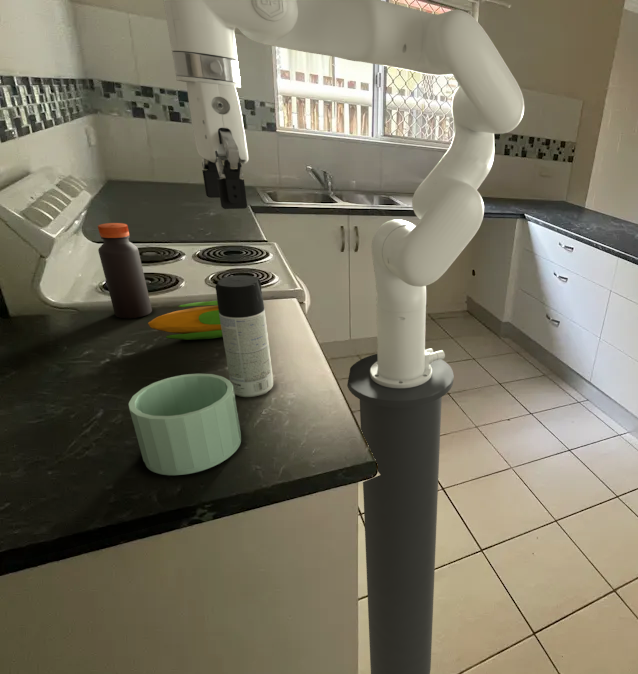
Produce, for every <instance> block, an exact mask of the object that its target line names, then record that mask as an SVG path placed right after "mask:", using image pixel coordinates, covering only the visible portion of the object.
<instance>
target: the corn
mask: <svg viewBox="0 0 638 674" xmlns="http://www.w3.org/2000/svg"><path fill="white" fill-rule="evenodd" d="M177 307H179V308H186V309H180V310H176V311H172V312H167V313H164V314H162V315H159V316H156V317H155V318H153V319H151V320H150V321H149V322H147V325H148V326H149V328H151V329H154V330H155V331H161V332H167V333H172V334H168V335H166V336H165V338H166V339H171V340H183V341H184V340H186V341H189V340H190V341H191V340H192V341H193V340H210V339H217V338H218V339H220V338H223V335H222V329H221V323H220V317H219V310H218V303H217V300H211V301H198V302H197V301H196V302H191V303H184V304H180V305H178V306H177ZM187 307H188V308H187ZM189 307H190V308H189Z"/></svg>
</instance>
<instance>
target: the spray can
mask: <svg viewBox="0 0 638 674" xmlns="http://www.w3.org/2000/svg"><path fill="white" fill-rule="evenodd" d="M214 287H215V294H216V301H217V303H218V310H219V317H220V323H221V329H222V335H223V337H222V339H223V346H224V351H225V359H226V364H227V372H228V378H229V380H230V382H231V383H232V385H233V389H234V395H235V396H237V397H240V398H251V397H257V396H263V395H265V394H267V393H268V392H269V391H270V390H272V388H273V387H274V375H273V367H272V359H271V350H270V344H269V343H270V341H269V334H268V326H267V325H268V324H267V317H266V309H265V302H264V297H263V291H262V284H261V279H260V278H259V277H256V276H252V275H247V274H246V275H244V274H242V275H241V274H240V275H237V274H236V275H229V276H223V277H221V279H218V281H217V283H216V284H215V286H214Z"/></svg>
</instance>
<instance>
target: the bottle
mask: <svg viewBox="0 0 638 674" xmlns="http://www.w3.org/2000/svg"><path fill="white" fill-rule="evenodd" d="M97 229H98V232H99V235H100V238H101V240H103V243H102V244H101V245H100V247H98V250H97V251H98V255H99V258H100V263H101V267H102V271H103V274H104V278H105V282H106V286H107V289H108V293H109V298H110V300H111V305H112V308H113V312H114V316H115V317H117V318H120V319H137V318H142V317H146V316H148V315H150V314H151V313H152V312H153V308H152V304H151V300H150V295H149V291H148V286H147V282H146V277H145V272H144V267H143V264H142V259H141V255H140V251H139V247H138V246H137V245H135V244H134V243H133V242H131V241H130V240H129V238H131V237H130V231H129V226H128V224H127V223H123V222H107V223H101V224H97Z"/></svg>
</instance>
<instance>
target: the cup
mask: <svg viewBox="0 0 638 674" xmlns="http://www.w3.org/2000/svg"><path fill="white" fill-rule="evenodd" d="M127 405H128V409H129V413H130V418H131V420H132V424H133V427H134V432H135V435H136V439H137V442H138V443H137V444H138V447H139V451H140V453H141V457H142V462H143V463H144V466H145V467H146V468H147V469H148V470H149V471H150V472H152V473H154V474H155V473H156V474H158V475H162V476H183V475H185V476H186V475H190V474H195V473H200V472H203V471H206V470H208V469H211V468H214V467H215V466H217V465H220V464H221V463H223V462H224V461H226V460H228V459H229V458H231V457H232V456H233V455H234V454H235V453H236V452H237V451H238V449H239V448H240V446H241V442H242V432H241V426H240V425H241V424H240V419H239V414H238V407H237V402H236V395H235V394H234V389H233V385H232V383H231V382H230V379H228V378H226V377H224V376H222V375H218V374H214V373H188V374H187V373H186V374H181V375H175V376H171V377H167V378H164V379H161V380H158V381H154V382H152V383H150V384H149V385H147V386H144V387H142V388H141V389H140V390H138V391H136V393H134V394H133V395H132V396H131V398H130V400H129V402H128V404H127Z"/></svg>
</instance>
